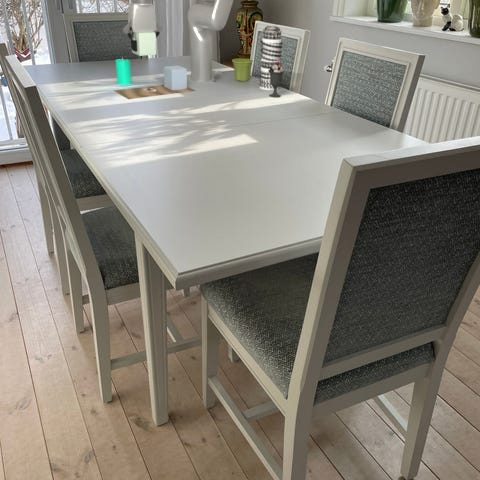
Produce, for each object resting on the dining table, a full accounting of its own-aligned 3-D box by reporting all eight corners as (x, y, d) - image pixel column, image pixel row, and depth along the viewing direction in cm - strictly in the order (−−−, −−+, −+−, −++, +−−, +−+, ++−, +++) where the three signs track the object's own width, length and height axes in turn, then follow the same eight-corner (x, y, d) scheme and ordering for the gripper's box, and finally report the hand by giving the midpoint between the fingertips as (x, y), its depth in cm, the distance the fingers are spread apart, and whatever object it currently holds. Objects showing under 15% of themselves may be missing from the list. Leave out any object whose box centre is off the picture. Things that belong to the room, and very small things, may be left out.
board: (178, 85, 223) (178, 81, 222) (196, 93, 212) (196, 89, 211) (113, 93, 208) (113, 89, 207) (128, 101, 197) (128, 97, 196)
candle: (130, 87, 216) (128, 58, 210) (116, 87, 216) (113, 57, 210) (133, 84, 222) (131, 55, 216) (119, 83, 221) (116, 54, 216)
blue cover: (178, 84, 219) (178, 65, 215) (186, 88, 215) (186, 68, 211) (164, 86, 216) (163, 66, 212) (172, 90, 211) (171, 70, 207)
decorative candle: (276, 91, 219) (280, 29, 207) (255, 89, 222) (258, 27, 209) (281, 87, 227) (286, 26, 214) (262, 84, 229) (265, 24, 217)
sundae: (284, 95, 215) (287, 57, 207) (280, 98, 209) (283, 60, 202) (269, 93, 216) (271, 56, 209) (264, 96, 211) (267, 58, 203)
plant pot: (237, 83, 230) (238, 63, 226) (228, 78, 238) (228, 59, 233) (255, 81, 234) (256, 61, 230) (245, 77, 242) (246, 57, 237)
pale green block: (148, 51, 205) (147, 30, 201) (156, 54, 200) (155, 32, 196) (132, 52, 201) (130, 30, 197) (139, 55, 196) (138, 33, 193)
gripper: (157, -1, 198) (159, 47, 207) (115, -1, 190) (119, 49, 198) (167, 0, 193) (168, 50, 202) (123, 1, 184) (127, 53, 193)
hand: (143, 49), depth 200 cm, fingers closed on pale green block, 7 cm apart
